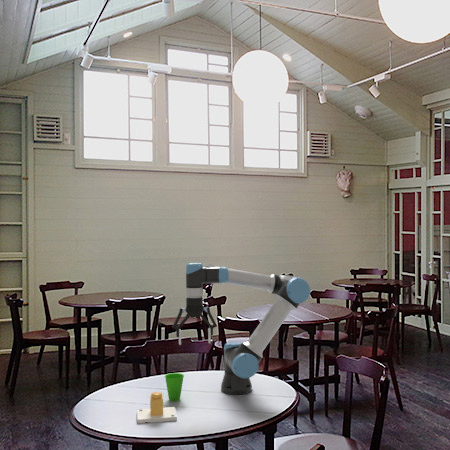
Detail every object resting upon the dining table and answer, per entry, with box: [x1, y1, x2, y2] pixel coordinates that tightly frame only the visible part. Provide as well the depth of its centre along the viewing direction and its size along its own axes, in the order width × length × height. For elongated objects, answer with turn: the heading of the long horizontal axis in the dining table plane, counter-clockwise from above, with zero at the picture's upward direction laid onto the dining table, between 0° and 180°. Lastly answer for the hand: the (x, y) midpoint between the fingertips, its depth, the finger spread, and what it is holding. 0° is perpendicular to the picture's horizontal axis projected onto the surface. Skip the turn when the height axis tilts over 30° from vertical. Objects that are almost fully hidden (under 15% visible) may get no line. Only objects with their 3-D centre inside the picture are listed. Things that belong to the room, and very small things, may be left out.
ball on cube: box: [149, 391, 164, 416], centre depth 206 cm, size 5×5×8 cm
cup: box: [164, 372, 185, 402], centre depth 227 cm, size 9×9×11 cm
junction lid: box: [136, 406, 178, 424], centre depth 206 cm, size 16×12×6 cm
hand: (194, 343), depth 223 cm, fingers open, 13 cm apart
